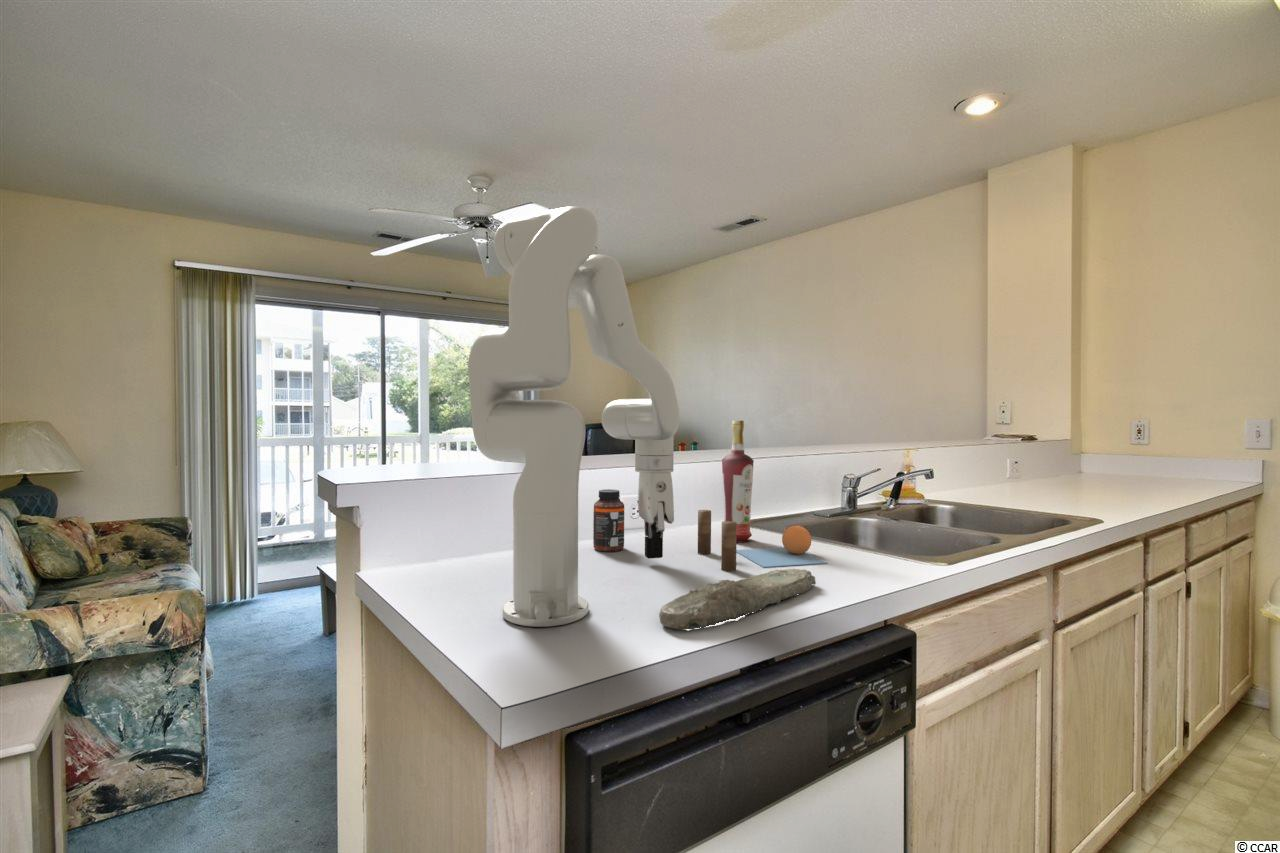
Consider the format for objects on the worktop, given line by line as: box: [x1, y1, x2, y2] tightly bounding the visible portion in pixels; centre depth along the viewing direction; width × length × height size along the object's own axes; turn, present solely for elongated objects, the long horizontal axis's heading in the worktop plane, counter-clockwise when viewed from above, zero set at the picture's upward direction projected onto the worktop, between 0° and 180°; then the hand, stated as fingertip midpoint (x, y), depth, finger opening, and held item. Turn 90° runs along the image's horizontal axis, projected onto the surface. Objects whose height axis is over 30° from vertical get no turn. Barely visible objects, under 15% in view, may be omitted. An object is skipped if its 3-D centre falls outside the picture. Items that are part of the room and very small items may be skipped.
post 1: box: [697, 509, 712, 556], centre depth 125 cm, size 3×3×9 cm
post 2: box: [720, 520, 737, 572], centre depth 112 cm, size 3×3×9 cm
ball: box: [781, 525, 812, 554], centre depth 125 cm, size 6×6×6 cm
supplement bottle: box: [592, 488, 625, 553], centre depth 128 cm, size 7×7×13 cm
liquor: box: [721, 420, 754, 543], centre depth 138 cm, size 7×7×28 cm
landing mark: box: [736, 546, 829, 568], centre depth 122 cm, size 14×14×1 cm
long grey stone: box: [658, 568, 817, 630], centre depth 92 cm, size 35×5×10 cm
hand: (653, 557), depth 115 cm, fingers closed
